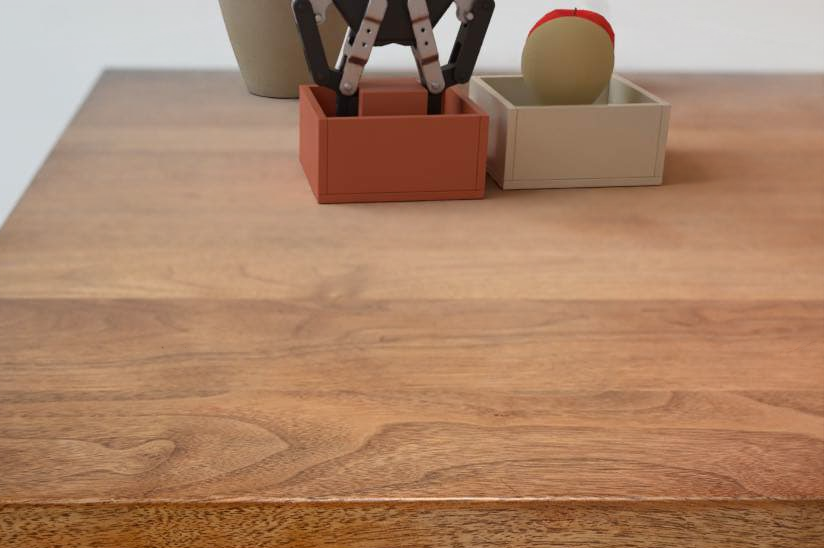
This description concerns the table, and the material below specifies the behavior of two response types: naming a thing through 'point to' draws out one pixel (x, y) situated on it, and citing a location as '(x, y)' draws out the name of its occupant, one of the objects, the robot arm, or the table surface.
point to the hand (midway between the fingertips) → (387, 144)
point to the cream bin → (572, 136)
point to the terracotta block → (391, 97)
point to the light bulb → (567, 62)
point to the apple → (581, 14)
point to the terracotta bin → (393, 151)
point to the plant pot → (276, 44)
